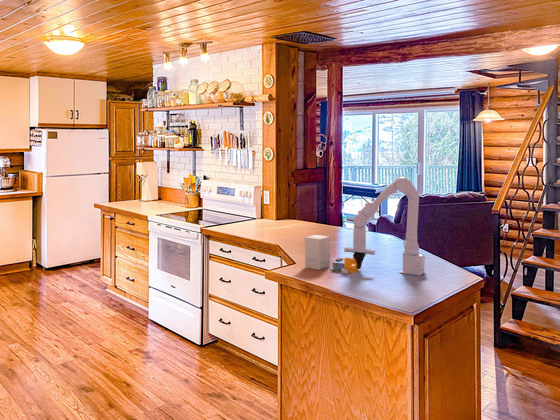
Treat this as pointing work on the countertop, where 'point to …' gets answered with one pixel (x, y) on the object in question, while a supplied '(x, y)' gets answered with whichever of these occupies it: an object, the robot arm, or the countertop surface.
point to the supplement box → (317, 252)
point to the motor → (340, 266)
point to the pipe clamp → (350, 265)
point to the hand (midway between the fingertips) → (359, 268)
